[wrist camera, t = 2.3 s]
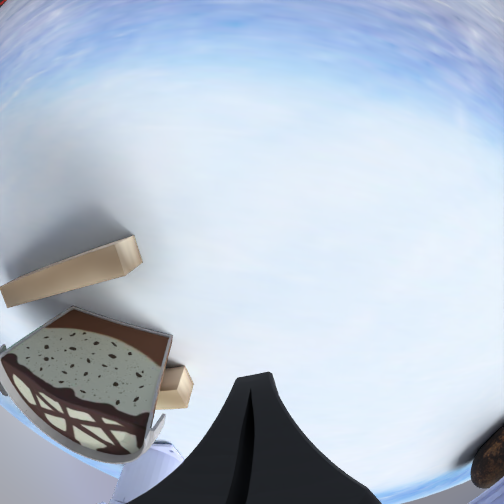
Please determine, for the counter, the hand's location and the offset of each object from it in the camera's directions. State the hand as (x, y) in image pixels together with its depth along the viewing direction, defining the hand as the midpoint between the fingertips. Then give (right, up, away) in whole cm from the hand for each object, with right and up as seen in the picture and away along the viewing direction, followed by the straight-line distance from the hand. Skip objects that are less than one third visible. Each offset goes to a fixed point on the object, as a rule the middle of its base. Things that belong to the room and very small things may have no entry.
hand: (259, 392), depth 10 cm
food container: (-11, -3, +11) cm, 16 cm away
